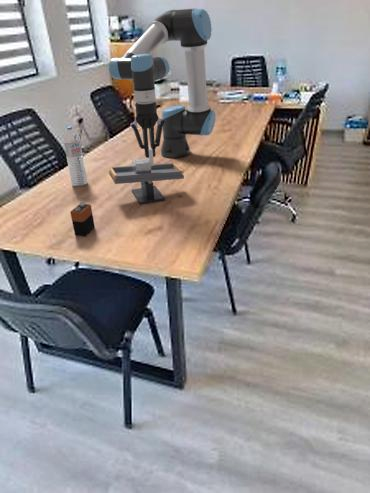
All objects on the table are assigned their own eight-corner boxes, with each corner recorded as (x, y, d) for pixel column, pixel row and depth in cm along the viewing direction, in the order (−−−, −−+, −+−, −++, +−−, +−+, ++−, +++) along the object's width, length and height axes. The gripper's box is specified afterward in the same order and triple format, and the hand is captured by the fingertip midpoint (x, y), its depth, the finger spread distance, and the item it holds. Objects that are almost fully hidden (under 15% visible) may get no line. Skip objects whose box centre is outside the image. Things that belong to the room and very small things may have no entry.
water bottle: (72, 188, 173) (60, 129, 160) (71, 182, 179) (60, 125, 166) (88, 186, 175) (78, 128, 162) (87, 180, 180) (77, 124, 168)
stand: (155, 188, 169) (153, 172, 166) (165, 200, 158) (163, 183, 154) (132, 192, 166) (130, 176, 163) (140, 205, 155) (138, 188, 151)
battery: (95, 227, 140) (90, 201, 135) (85, 237, 135) (80, 210, 130) (84, 226, 141) (79, 200, 136) (74, 235, 136) (68, 209, 131)
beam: (173, 171, 167) (174, 162, 166) (183, 181, 158) (184, 171, 156) (109, 176, 159) (108, 166, 157) (115, 187, 149) (114, 176, 147)
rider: (146, 170, 160) (146, 158, 157) (150, 175, 155) (151, 162, 153) (132, 171, 158) (131, 159, 156) (135, 176, 153) (135, 163, 151)
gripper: (130, 105, 139) (137, 170, 151) (165, 101, 143) (170, 165, 155) (125, 102, 145) (132, 164, 157) (159, 98, 149) (164, 159, 161)
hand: (151, 165), depth 156 cm, fingers closed
